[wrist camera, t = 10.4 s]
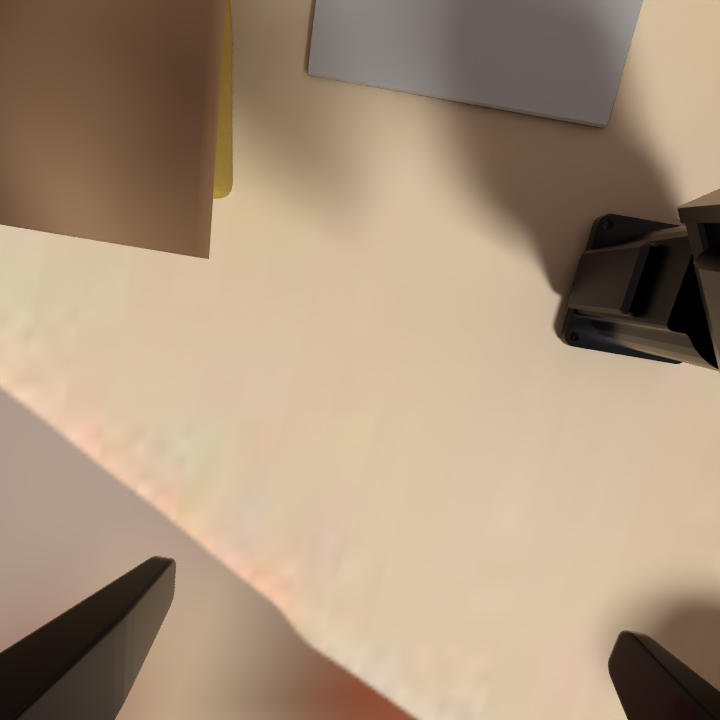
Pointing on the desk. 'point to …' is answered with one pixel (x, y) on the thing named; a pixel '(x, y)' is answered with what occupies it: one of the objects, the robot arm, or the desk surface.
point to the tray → (482, 51)
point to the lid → (111, 119)
